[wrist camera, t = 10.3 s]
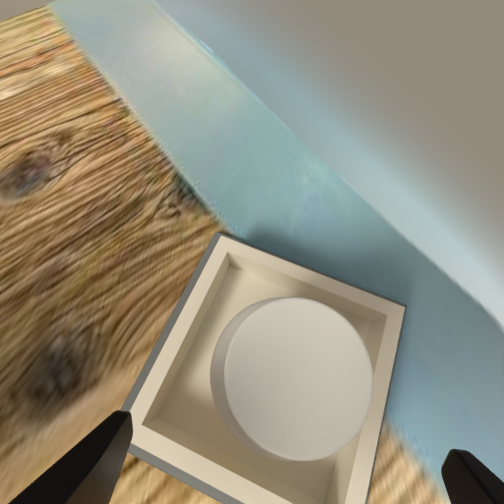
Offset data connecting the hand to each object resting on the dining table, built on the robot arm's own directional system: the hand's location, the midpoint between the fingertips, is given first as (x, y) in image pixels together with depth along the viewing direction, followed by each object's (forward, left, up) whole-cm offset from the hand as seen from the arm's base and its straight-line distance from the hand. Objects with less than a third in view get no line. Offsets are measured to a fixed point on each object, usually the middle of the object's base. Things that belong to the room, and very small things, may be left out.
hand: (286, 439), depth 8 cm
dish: (+2, +1, -9) cm, 9 cm away
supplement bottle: (+2, 0, -9) cm, 9 cm away
